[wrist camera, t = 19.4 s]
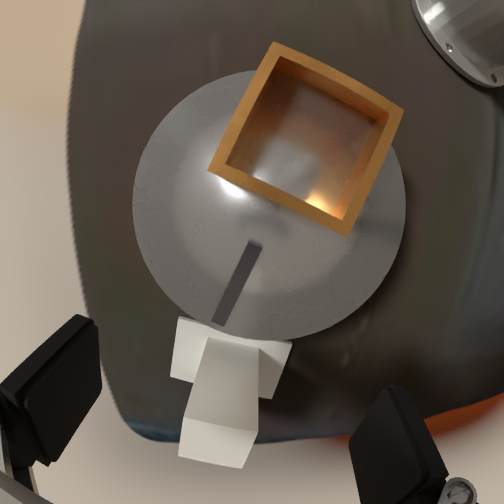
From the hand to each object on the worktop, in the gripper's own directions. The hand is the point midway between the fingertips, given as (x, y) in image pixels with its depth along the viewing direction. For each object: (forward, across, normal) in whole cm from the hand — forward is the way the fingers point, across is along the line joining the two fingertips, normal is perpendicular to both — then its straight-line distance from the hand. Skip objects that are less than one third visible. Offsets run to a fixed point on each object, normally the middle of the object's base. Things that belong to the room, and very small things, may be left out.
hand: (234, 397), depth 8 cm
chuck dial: (+11, 0, -4) cm, 12 cm away
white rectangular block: (+13, 0, +8) cm, 15 cm away
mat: (+13, 0, +9) cm, 16 cm away
